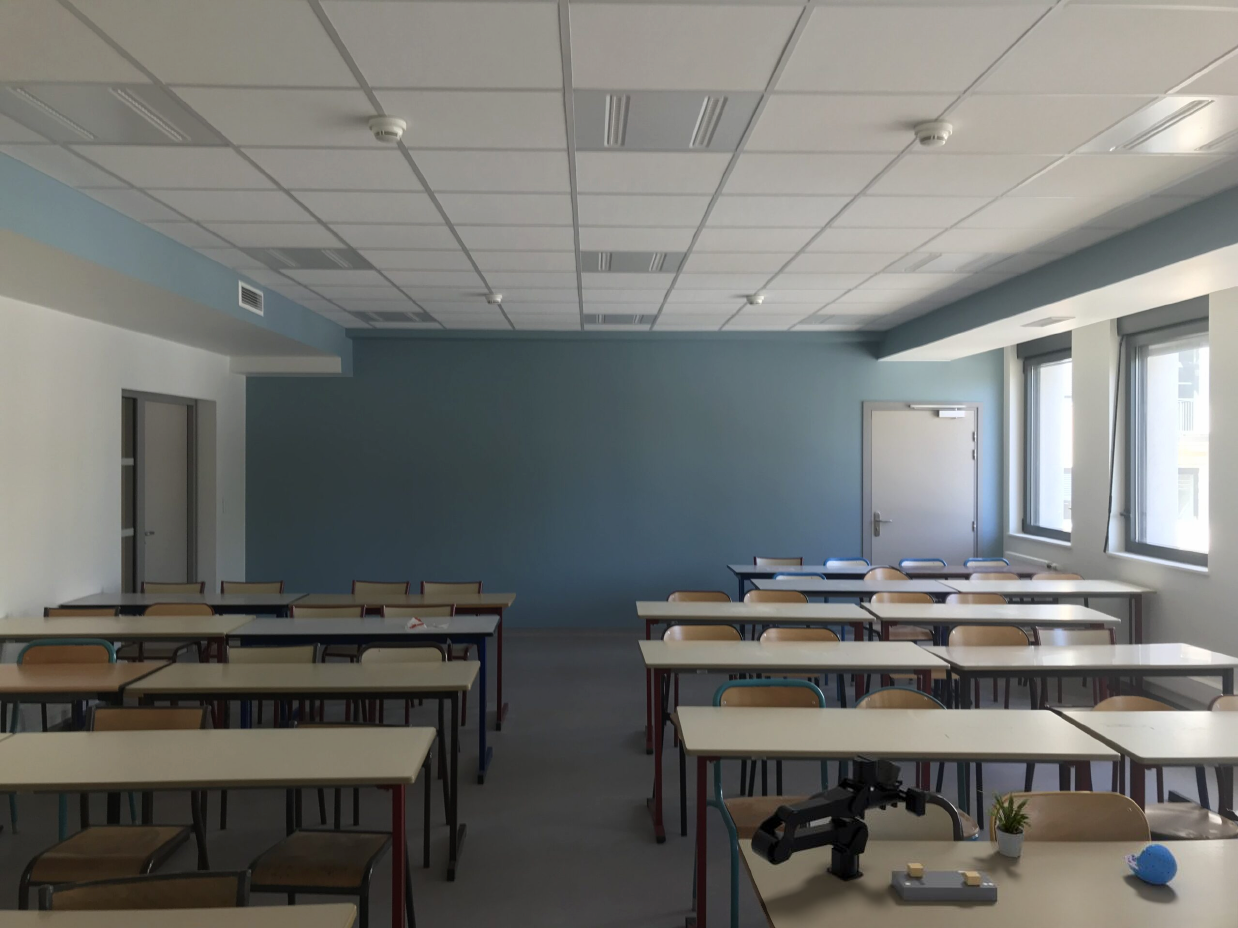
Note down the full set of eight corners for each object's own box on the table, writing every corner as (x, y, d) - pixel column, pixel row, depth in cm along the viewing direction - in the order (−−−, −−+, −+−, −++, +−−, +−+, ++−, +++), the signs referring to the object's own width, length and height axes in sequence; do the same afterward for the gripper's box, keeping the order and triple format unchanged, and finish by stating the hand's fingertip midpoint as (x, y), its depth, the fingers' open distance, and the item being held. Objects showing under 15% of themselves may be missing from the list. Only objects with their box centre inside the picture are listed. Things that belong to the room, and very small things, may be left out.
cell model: (1148, 867, 206) (1148, 830, 206) (1188, 891, 194) (1188, 851, 194) (1113, 870, 205) (1113, 831, 205) (1151, 893, 193) (1151, 853, 193)
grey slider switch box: (903, 900, 188) (903, 886, 188) (891, 883, 196) (891, 870, 196) (997, 900, 189) (997, 886, 189) (981, 883, 197) (981, 870, 197)
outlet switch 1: (911, 876, 193) (911, 867, 193) (907, 871, 196) (907, 863, 196) (923, 876, 193) (923, 867, 193) (919, 871, 196) (919, 863, 196)
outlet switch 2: (968, 884, 190) (968, 876, 190) (963, 879, 192) (963, 871, 192) (980, 884, 190) (980, 876, 190) (976, 879, 192) (976, 871, 192)
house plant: (973, 856, 211) (973, 793, 211) (976, 836, 223) (977, 777, 224) (1034, 869, 204) (1034, 804, 205) (1034, 848, 217) (1035, 786, 217)
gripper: (903, 775, 199) (946, 767, 206) (847, 753, 215) (889, 746, 222) (902, 821, 198) (945, 812, 206) (846, 796, 214) (888, 787, 222)
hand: (915, 787), depth 214 cm, fingers open, 9 cm apart
